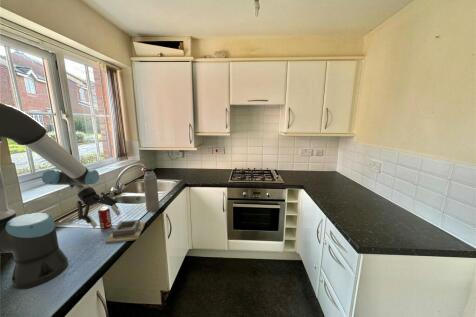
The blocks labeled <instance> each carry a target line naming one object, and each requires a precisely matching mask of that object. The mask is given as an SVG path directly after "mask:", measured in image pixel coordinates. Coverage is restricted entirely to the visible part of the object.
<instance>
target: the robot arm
mask: <svg viewBox="0 0 476 317" xmlns="http://www.w3.org/2000/svg"><path fill="white" fill-rule="evenodd" d="M3 139H8V140H11V141H13V142H14V143H16V144H17V145H19V146H25V147H27V148H29V149H30V150H31V151H33V152H34V153H35V154H37V155H38V156H39V157H41V158H42V159H44V160H45V161H46V162H48V163H49V164H51V165H52V166H54V167H55V168H57V169H55V168H54V169H46V170H45V171H44V172H43V173H42V174H41V181H42V183H44V184H45V185H51V186H69V188H71V189H72V191H73V192H74V193H75V194H76V196H77V197H78V198H79V200H77V201H76V203H75V205H76V207H77V219H78V220H79V221H80V220H82V221H85V222H86V223H87V224H90V225H91V227H92V228H93V229H95V228H96V227H97V226H98V223H97V222H96V221H95V219H94V218H93V217H92V216H91V215H89V212H90V207H91V206H94V205H97V204H101V205H105V206H108V207H110V209H111V210H112V211H113V212H114V213H115V215H116V216H117V217H119V216H120V215H121V213H122V212H121V211H120V210H119V207H118V205H117V203H118V201H117V200H116V199H114V198H112V197H110V196H109V195H107V194H106V193H105V192H100V194H98V193H97V191H96V190H95V189H94V188H93V186H92V185H95V184H97V182H98V181H99V179H100V174H99V172H98V170H96V169H88V168H87V167H86V166H85V165H84V164H82V163H81V162H80V161H79V160H78V159H77V158H75V157H74V156H73V155H72V154H71V153H70V152H69V151H68V150H66V149H65V147H63V146H62V145H61V144H60V143H58V142H57V141H56V140H55V139H54V137H52V136H50V135H49V134H48V130H47V128H46V127H45V126H44V125H42V124H41V123H40V122H39V121H37V119H35V118H33V117H32V116H30V115H29V114H28V113H26V112H24V111H22V110H20V109H19V108H17V107H14V106H13V105H9V104H6V103H2V102H0V144H2V143H3ZM83 204H84V205H85V207H84V209H83ZM56 228H57V227H56V223H55V221H54V218H53V216H52V215H51V214H49V213H45V212H32V213H25V214H22V215H21V214H20V215H18V216H17V213H16V210H14V209H11V208H9V203H8V197H7V193H6V188H5V183H4V177H3V172H2V167H1V165H0V254H7V253H8V254H9V253H11V254H12V255H13V259H14V267H13V271H12V276H11V283H12V287H13V288H15V289H17V290H26V289H30V288H34V287H37V286H40V285H42V284H43V285H44V284H45V283H47V282H49V281H50V280H52V279H54V278H56V277H57V276H60V274H61V273H62V272H64V271H65V269H66V268H67V267H68V265H69V261H68V257H67V255H66V254H65V253H64V252H63V251H62V249H61V248H60V245H59V241H58V234H57V229H56Z"/></svg>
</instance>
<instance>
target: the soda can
mask: <svg viewBox="0 0 476 317" xmlns="http://www.w3.org/2000/svg"><path fill="white" fill-rule="evenodd" d="M109 207H110V206H101V207H99V208H98V210H97V211H98V212H97V214H98V219H99V221H98V222H99V227H100V230H101V231H103V232H104V231H105V232H106V231H109V230H110V229H111V228H112V226H113V225H112V224H113V222H112V216H111V211H110V209H111V208H109Z"/></svg>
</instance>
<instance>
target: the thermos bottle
mask: <svg viewBox="0 0 476 317" xmlns="http://www.w3.org/2000/svg"><path fill="white" fill-rule="evenodd" d="M143 188H144V196H145V198H144V199H145V207H146V208H145V209H146V211H147V212H149V211H152V212H156V211H158V210H159V209H160V202H159V190H158V189H159V188H158V177H157V175H156V173H155V172H154V168H146V169H145V174H144V176H143Z"/></svg>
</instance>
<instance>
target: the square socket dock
mask: <svg viewBox="0 0 476 317" xmlns="http://www.w3.org/2000/svg"><path fill="white" fill-rule="evenodd" d="M145 225H146V221H141V220H140V219H134V220H123V221H119V223H117V225H116V226H115V228H113V230H112V231H111V232H112V233H111V234H110V235H109V236H108V238H107V239H106V240H105V244H113V243H112V242H115V243H121V242H120V241H124V242H129V241H132V242H133V241H138V239H139V237H140V235H141V234H142V231H143V229H144V228H145Z"/></svg>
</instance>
